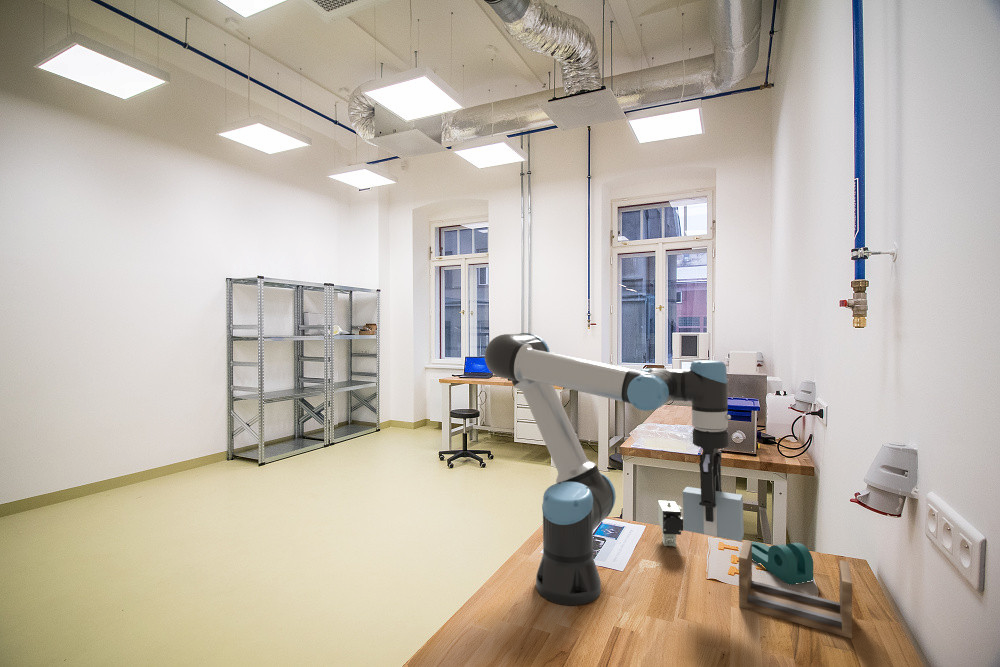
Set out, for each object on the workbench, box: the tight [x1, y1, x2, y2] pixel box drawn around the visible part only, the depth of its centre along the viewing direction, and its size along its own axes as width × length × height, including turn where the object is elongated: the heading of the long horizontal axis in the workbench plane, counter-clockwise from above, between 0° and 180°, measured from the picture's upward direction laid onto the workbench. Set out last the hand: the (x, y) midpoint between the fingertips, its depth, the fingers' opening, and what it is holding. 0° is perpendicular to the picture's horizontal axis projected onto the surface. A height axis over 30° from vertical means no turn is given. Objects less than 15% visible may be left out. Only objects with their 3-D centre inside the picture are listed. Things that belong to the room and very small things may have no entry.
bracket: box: [752, 541, 814, 586], centre depth 122 cm, size 18×7×8 cm, turn 11°
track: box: [738, 539, 853, 639], centre depth 103 cm, size 20×10×11 cm, turn 57°
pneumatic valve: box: [657, 499, 684, 547], centre depth 134 cm, size 6×12×12 cm, turn 170°
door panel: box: [682, 486, 745, 543], centre depth 108 cm, size 12×4×9 cm, turn 56°
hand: (712, 530), depth 108 cm, fingers closed on door panel, 4 cm apart
